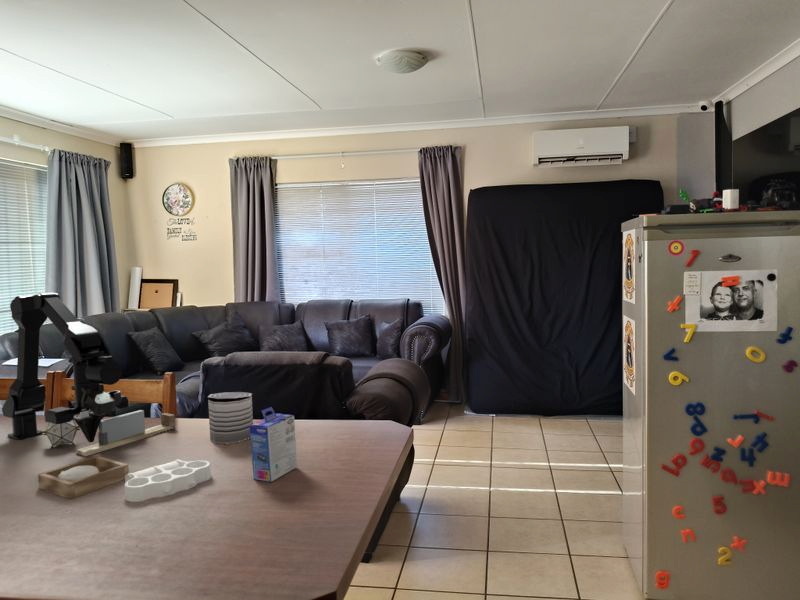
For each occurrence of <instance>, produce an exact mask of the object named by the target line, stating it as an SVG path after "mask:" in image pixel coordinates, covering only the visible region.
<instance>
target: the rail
mask: <svg viewBox="0 0 800 600" xmlns="http://www.w3.org/2000/svg"><path fill="white" fill-rule="evenodd" d="M160 421H161V423H160V424H159V425H155V426H152V427H149V428H145V432H144V433H141V434H138V435H134V436H131V437H128V438H124V439H121V440H118V441H114V442H111V443H108V444H106V445H102V444H99V442H98V443H95V444H92V445H88V446H84V447H81V448H78V449H76V450H75V451H76V454H77V455H79V456H80V455H81V456H83V457H88V456H91V455H94V454H97V453H100V452H103V451H107V450H110V449H115V448H116V447H119V446H123V445H126V444H129V443H133V442H136V441H140V440H143V439H146V438H149V437H152V436H155V435H154V434H156V435H158V434H157V433H159V434H161V433H160V432H162V433H164V432H163V431H165V432H167V430H169V431H171V430H170V429H172V430H174V429H173V428H175V429H176V420H175V414H173V413H167V412H164V413H160ZM151 435H152V436H151ZM148 436H149V437H148ZM145 437H146V438H145Z"/></svg>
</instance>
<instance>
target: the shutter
mask: <svg viewBox="0 0 800 600" xmlns="http://www.w3.org/2000/svg"><path fill="white" fill-rule="evenodd" d="M145 421H146V420H145V410H144V409H143V410H142V409H139V410H134V411H132V412H128V413H124V414H119V415H116V416H112V417H109V418H105V419H104V418H103V419H102V420H101V422H100V424H99V426H98V431H97V434H98V436H97V437H98V438H97V439H98V443H99V444H102V445H106V444H108V443H111V442H114V441H118V440H121V439H124V438H128V437H131V436H134V435H138V434H141V433H144V432H145V429H146V424H145V423H146V422H145Z"/></svg>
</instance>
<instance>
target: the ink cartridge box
mask: <svg viewBox="0 0 800 600" xmlns="http://www.w3.org/2000/svg"><path fill="white" fill-rule="evenodd" d="M260 412H261V413H262V415H263V419H261V420H259V421H256V422H253V424H252V425H250V449H251V452H250V453H251V461H252V462H251V464H252V465H251V466H252V475H253V476H252V477H253V480H259V481H263V482H266V483H267V482H268V483H271V482H273V481H276V480H277V479H279V478H280V477H283V475H286V474H287V473H289V472H291V471H292V470H294V469H297V468H298V460H297V459H298V457H297V443H296V441H297V440H296V428H295V427H296V425H295V415H294V414H288V413H287V414H284V413H276V412H275V410H274V409H273V407H272V406H270V407H267V408H265V409H261V411H260ZM268 412H271V414H268V415H267V413H268Z"/></svg>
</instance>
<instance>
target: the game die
mask: <svg viewBox="0 0 800 600" xmlns="http://www.w3.org/2000/svg"><path fill="white" fill-rule="evenodd" d="M80 430H81V429H80V427H79V426H78V425H77V424H76V422H75V421H74V420H72V421H70V422H66V423H62V424H53V423H49V422H48V425H47V427H46V429H45V430H42V431H43V432H42V434H43V435H44V436H47V439H48V440H49V442H50V444H51V446H50V449H51V448H52V449H53V448H54V446H60V445H68V444H69V445H70V444H71V445H72V446H75V443H74V440H75V437H76V434H77V431H80Z"/></svg>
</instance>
